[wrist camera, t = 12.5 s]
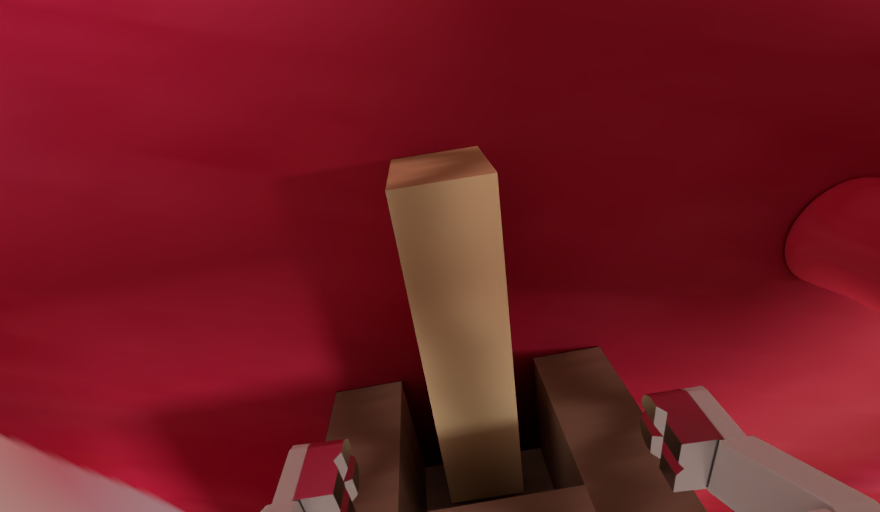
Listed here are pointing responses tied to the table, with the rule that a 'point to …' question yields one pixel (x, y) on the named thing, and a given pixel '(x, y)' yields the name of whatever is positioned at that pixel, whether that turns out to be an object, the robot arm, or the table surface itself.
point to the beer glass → (840, 241)
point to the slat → (460, 313)
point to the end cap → (543, 469)
